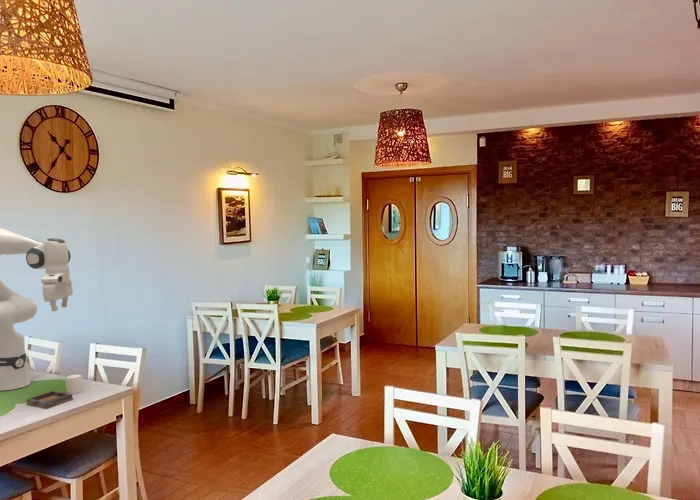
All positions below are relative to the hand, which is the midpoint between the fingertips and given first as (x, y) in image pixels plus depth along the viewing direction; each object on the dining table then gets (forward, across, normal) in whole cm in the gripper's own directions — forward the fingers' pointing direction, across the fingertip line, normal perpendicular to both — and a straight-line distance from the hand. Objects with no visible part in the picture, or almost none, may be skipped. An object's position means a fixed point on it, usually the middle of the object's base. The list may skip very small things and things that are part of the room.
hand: (59, 309), depth 232 cm
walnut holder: (+37, +10, -1) cm, 38 cm away
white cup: (+37, -2, +3) cm, 37 cm away
